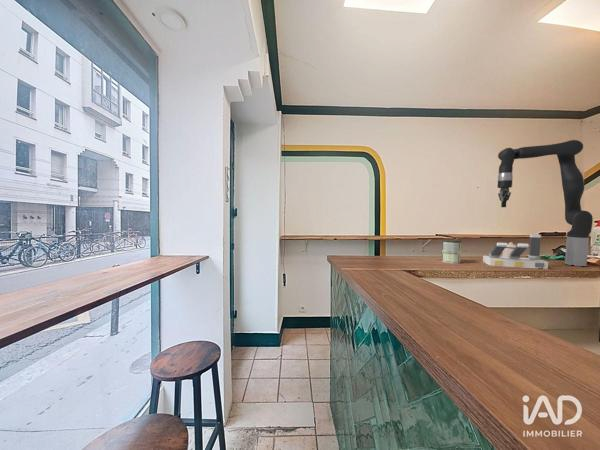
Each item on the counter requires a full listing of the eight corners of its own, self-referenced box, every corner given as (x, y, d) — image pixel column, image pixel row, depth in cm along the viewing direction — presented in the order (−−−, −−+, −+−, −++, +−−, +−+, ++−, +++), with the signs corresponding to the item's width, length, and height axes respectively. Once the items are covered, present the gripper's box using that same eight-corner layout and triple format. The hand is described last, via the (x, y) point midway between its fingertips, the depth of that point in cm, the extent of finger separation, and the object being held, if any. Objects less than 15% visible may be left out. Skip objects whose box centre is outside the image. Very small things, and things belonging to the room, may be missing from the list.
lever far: (497, 254, 165) (507, 242, 153) (498, 258, 164) (507, 245, 152) (488, 254, 166) (497, 241, 155) (489, 257, 165) (498, 245, 153)
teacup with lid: (518, 261, 173) (519, 243, 173) (501, 259, 179) (502, 242, 178) (518, 258, 183) (519, 241, 182) (502, 257, 188) (503, 240, 188)
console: (536, 264, 163) (536, 258, 163) (548, 269, 151) (548, 262, 151) (482, 261, 171) (483, 255, 171) (490, 265, 159) (490, 259, 159)
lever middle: (517, 255, 162) (528, 243, 150) (518, 259, 161) (529, 246, 149) (507, 255, 163) (517, 242, 152) (508, 258, 162) (519, 246, 150)
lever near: (537, 259, 159) (539, 234, 158) (540, 260, 156) (541, 234, 155) (528, 258, 160) (529, 234, 159) (530, 259, 158) (531, 234, 157)
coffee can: (438, 260, 176) (439, 238, 175) (455, 260, 175) (456, 239, 174) (445, 263, 165) (446, 240, 164) (463, 263, 164) (464, 241, 163)
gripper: (516, 179, 165) (515, 207, 166) (507, 181, 177) (505, 207, 178) (502, 179, 167) (501, 207, 168) (494, 181, 180) (492, 207, 181)
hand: (503, 207), depth 173 cm, fingers closed
